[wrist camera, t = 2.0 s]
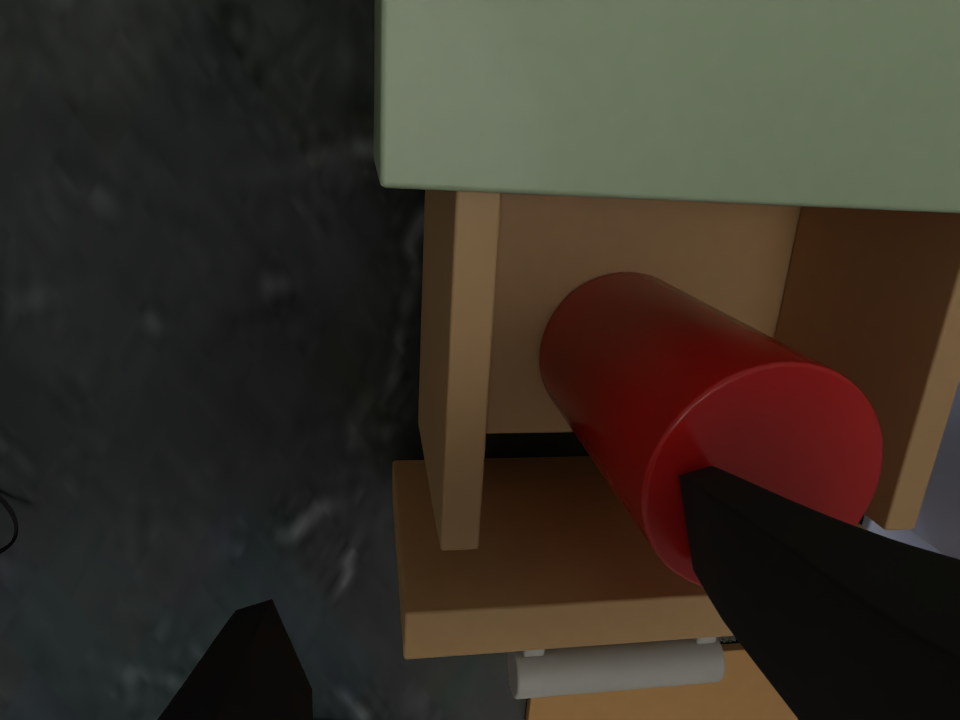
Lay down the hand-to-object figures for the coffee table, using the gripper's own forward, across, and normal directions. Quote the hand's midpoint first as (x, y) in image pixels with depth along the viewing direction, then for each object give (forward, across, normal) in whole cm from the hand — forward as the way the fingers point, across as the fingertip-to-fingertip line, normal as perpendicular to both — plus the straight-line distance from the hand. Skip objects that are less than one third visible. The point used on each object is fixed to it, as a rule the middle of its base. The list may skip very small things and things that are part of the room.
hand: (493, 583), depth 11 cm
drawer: (+9, -5, +1) cm, 10 cm away
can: (+8, -5, 0) cm, 9 cm away
